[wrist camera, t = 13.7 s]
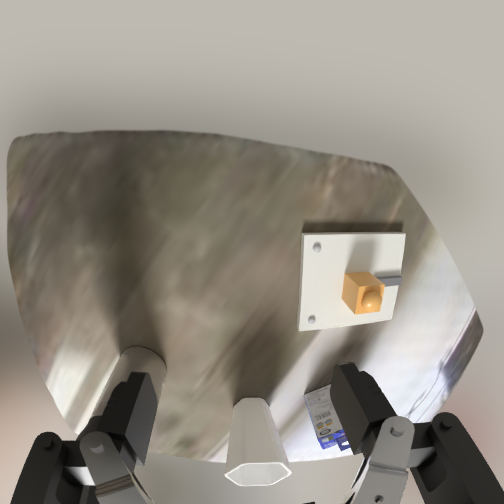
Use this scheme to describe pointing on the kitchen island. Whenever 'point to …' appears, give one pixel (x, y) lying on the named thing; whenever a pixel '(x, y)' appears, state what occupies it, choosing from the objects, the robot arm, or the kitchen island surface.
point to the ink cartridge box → (325, 419)
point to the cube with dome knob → (362, 292)
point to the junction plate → (332, 275)
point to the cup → (255, 446)
